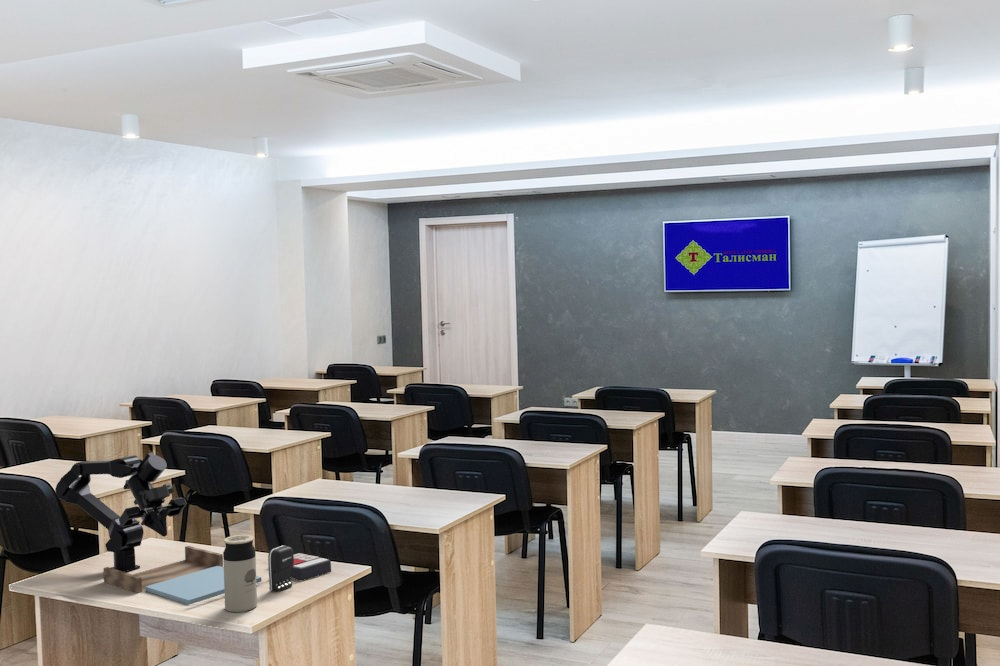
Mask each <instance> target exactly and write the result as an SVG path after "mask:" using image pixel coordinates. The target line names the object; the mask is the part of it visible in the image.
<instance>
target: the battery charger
mask: <svg viewBox="0 0 1000 666" xmlns="http://www.w3.org/2000/svg"><path fill="white" fill-rule="evenodd" d="M267 556H268V559H267V560H268V563H267V564H268V581H269V591H271V592H282V591H284V590H286V589H289V588H291V587H292V586H293V582H292V578H291V577H290V567H291V565H293V564H294V550H293V548H292V547H291V546H287V545H281V546H277V547H274V548H272V549H271V550H269V552H268V555H267Z"/></svg>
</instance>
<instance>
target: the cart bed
mask: <svg viewBox="0 0 1000 666" xmlns="http://www.w3.org/2000/svg"><path fill="white" fill-rule="evenodd" d="M184 556H185V557H184V559H183V560H179V561H176V562H172V563H168V564H165V565H161V566H158V567H154V568H151V569H147V570H144V571H139V572H136V573H133V574H132V573H130V572H127V571H126V572H123V571H119V570H116V569H113V568H111V567H109V566H106V567H104V568H103V583H105V584H108V585H112V586H115V587H117V588H120V589H124V590H126V591H130V592H133V593H137V594H140V593H143V592H146V591H145V586H149V585H152V584H156V583H159V582H163V581H166V580H170V579H173V578H176V577H180V576H183V575H187V574H190V573H194V572H197V571H201V570H204V569H207V568H211V567H214V566H221V567H224V561H223V553H219V552H214V551H210V550H207V549H202V548H199V547H194V546H191V545H187V546H186V545H185V546H184Z"/></svg>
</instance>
